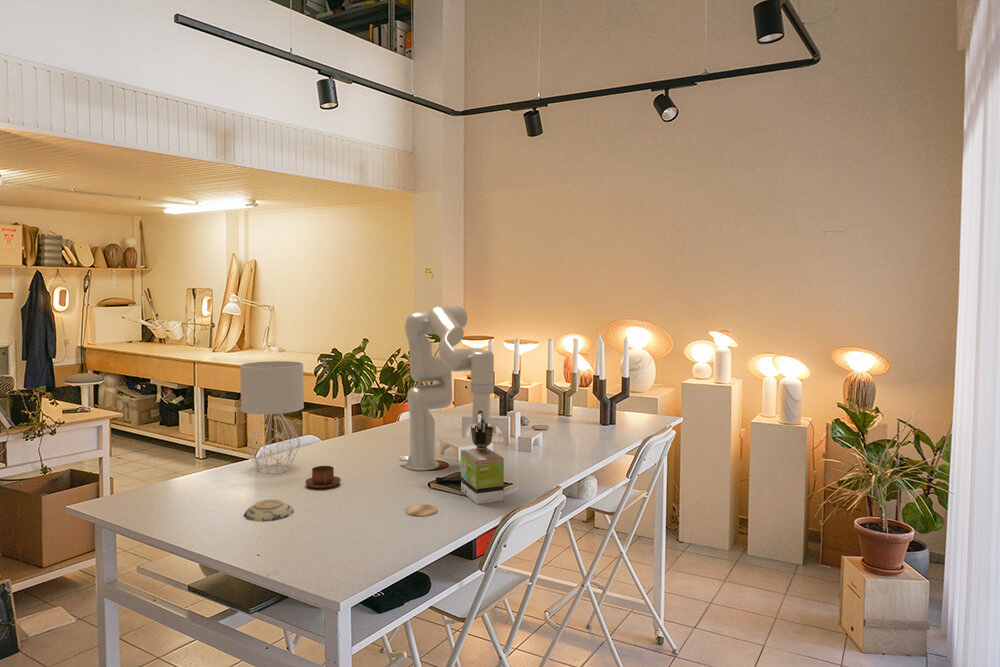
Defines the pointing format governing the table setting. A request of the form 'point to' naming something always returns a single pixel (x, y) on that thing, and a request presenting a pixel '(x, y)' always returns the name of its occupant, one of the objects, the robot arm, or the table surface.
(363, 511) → the table surface
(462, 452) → the tea box
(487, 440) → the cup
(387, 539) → the table surface
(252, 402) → the table lamp
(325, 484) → the cup and saucer
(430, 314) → the robot arm
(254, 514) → the decorative bowl
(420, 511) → the cork coaster
